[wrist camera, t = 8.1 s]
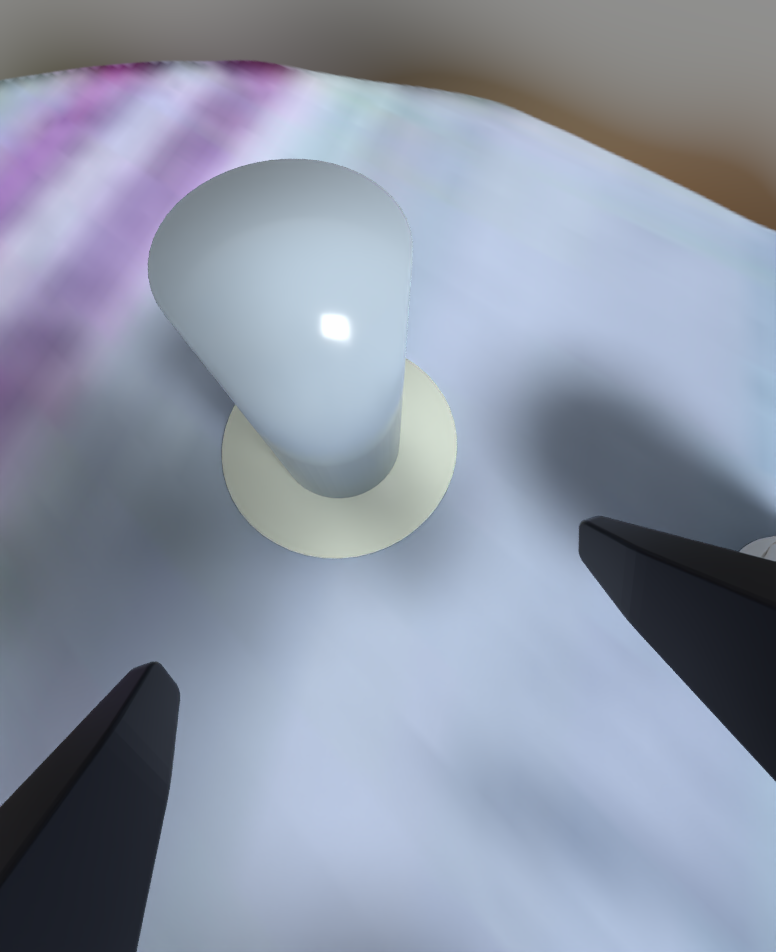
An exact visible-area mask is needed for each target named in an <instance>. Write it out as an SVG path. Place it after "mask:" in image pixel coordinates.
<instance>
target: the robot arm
mask: <svg viewBox="0 0 776 952" xmlns="http://www.w3.org/2000/svg"><path fill="white" fill-rule="evenodd" d="M579 555H580V558H581V559H582V561H583V563H584V564H585V565H586V567H587V568H588V569H589V571H590V572H591V573H592V575H593V576H594V577H595V578H596V580H597V581H598V582H599V584H600V585H601V586H602V588H603V589H604V590H605V592H606V593H607V594H608V596H609V597H610V598H611V600H612V601H613V602H614V603H615V605H616V606H617V607H618V609H619V610H620V611H621V613H622V614H623V615H624V616H625V618H626V619H627V620H628V621H629V622H630V624H631V625H632V626H633V627H634V628H635V629H636V630H637V631H638V633H639V634H640V635H641V636H642V637H643V638H644V639H645V640H646V641H647V642H648V643H649V644H650V646H651V647H652V648H653V649H654V650H655V651H656V652H657V653H658V654H659V655H660V656H661V657H662V659H663V660H664V661H665V662H666V663H667V664H668V665H669V666H670V667H671V668H672V669H673V671H674V672H675V673H676V674H677V675H678V676H679V677H680V678H681V679H682V680H683V681H684V682H685V684H686V685H687V686H688V687H689V688H690V689H691V690H692V691H693V692H694V693H695V694H696V695H697V697H698V698H699V699H700V700H701V701H702V702H703V703H704V704H705V705H706V706H707V707H708V709H709V710H710V711H711V712H712V713H713V714H714V715H715V716H716V717H717V718H718V719H719V720H720V722H721V723H722V724H723V725H724V726H725V727H726V728H727V729H728V730H729V731H730V732H731V733H732V735H733V736H734V737H735V738H736V739H737V740H738V741H739V742H740V743H741V744H742V745H743V747H744V748H745V749H746V750H747V751H748V752H749V753H750V754H751V755H752V756H753V757H754V758H755V760H756V761H757V762H758V763H759V764H760V765H761V766H762V767H763V768H764V769H765V770H766V771H767V773H768V774H769V775H770V776H771V777H772V778H773V779H774V780H775V781H776V561H772V560H769V559H765V558H761V557H757V556H753V555H749V554H746V553H742V552H738V551H734V550H730V549H726V548H722V547H719V546H715V545H711V544H707V543H703V542H699V541H696V540H692V539H688V538H684V537H680V536H676V535H672V534H669V533H665V532H661V531H657V530H653V529H649V528H646V527H642V526H638V525H634V524H630V523H626V522H622V521H619V520H615V519H611V518H607V517H603V516H595V517H592V518H589V519H586V520H583V521H582V522H581V523H580V525H579ZM179 704H180V692H179V688H178V686H177V684H176V683H175V682H174V680H173V679H172V678H171V676H170V675H169V674H168V672H167V671H166V670H165V669H164V667H163V666H162V665H161V664H160V663H158V662H150V663H147V664H144V665H141V666H138V667H135V668H133V669H132V670H131V671H130V672H129V673H128V674H127V675H126V676H125V677H124V678H123V679H122V680H121V681H120V682H119V683H118V684H117V685H116V686H115V687H114V688H113V689H112V690H111V691H110V693H109V694H108V695H107V696H106V697H105V698H104V699H103V700H102V701H101V702H100V703H99V704H98V705H97V706H96V707H95V708H94V709H93V710H92V711H91V712H90V714H89V715H88V716H87V717H86V718H85V719H84V720H83V721H82V722H81V723H80V724H79V725H78V726H77V727H76V728H75V729H74V730H73V731H72V732H71V733H70V734H69V736H68V737H67V738H66V739H65V740H64V741H63V742H62V743H61V744H60V745H59V746H58V747H57V748H56V749H55V750H54V751H53V752H52V753H51V754H50V755H49V757H48V758H47V759H46V760H45V761H44V762H43V763H42V764H41V765H40V766H39V767H38V768H37V769H36V770H35V771H34V772H33V773H32V774H31V775H30V776H29V777H28V779H27V780H26V781H25V782H24V783H23V784H22V785H21V786H20V787H19V788H18V789H17V790H16V791H15V792H14V793H13V794H12V795H11V796H10V797H9V798H8V799H7V801H6V802H5V803H4V804H3V805H2V806H1V807H0V952H136V951H137V946H138V941H139V936H140V932H141V927H142V922H143V917H144V912H145V907H146V902H147V898H148V893H149V888H150V883H151V878H152V873H153V868H154V864H155V859H156V854H157V849H158V844H159V839H160V834H161V829H162V825H163V820H164V815H165V810H166V805H167V800H168V795H169V789H170V783H171V776H172V768H173V759H174V750H175V741H176V731H177V722H178V713H179Z"/></svg>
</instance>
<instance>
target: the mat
mask: <svg viewBox="0 0 776 952" xmlns="http://www.w3.org/2000/svg"><path fill="white" fill-rule="evenodd" d="M456 454H457V435H456V429H455V424H454V419H453V416H452V414H451V411H450V408H449V406H448V404H447V402H446V400H445V398H444V396H443V394H442V393H441V391H440V390H439V388H438V387H437V385H436V384H435V383H434V382H433V381H432V380H431V378H430V377H429V376H428V375H427V374H426V373H425V372H424V371H422V370H421V369H420V368H419V367H418V366H417V365H415V364H414V363H412V362H411V361H409V360H408V359H405V374H404V388H403V402H402V416H401V430H400V445H399V452H398V456H397V459H396V462H395V464H394V466H393V468H392V469H391V471H390V473H389V474H388V475H387V476H386V478H385V479H384V480H383V481H382V482H380V483H379V484H378V485H377V486H375V487H374V488H373V489H371V490H369V491H367V492H365V493H363V494H360V495H357V496H353V497H349V498H329V497H323V496H320V495H317V494H314V493H312V492H310V491H308V490H307V489H305V488H303V487H302V486H301V485H300V484H299V483H297V481H296V480H295V479H294V478H293V477H292V476H291V474H290V473H289V472H288V471H287V469H286V468H285V467H284V466H283V464H282V463H281V462H280V461H279V459H278V458H277V457H276V455H275V454H274V453H273V452H272V450H271V449H270V448H269V447H268V445H267V444H266V443H265V442H264V440H263V439H262V438H261V436H260V435H259V434H258V433H257V431H256V430H255V429H254V428H253V426H252V425H251V424H250V423H249V421H248V420H247V419H246V417H245V416H244V415H243V414H242V412H241V411H240V410H239V409H238V407H237V406H236V405H234V407H233V410H232V412H231V414H230V416H229V419H228V422H227V425H226V428H225V432H224V437H223V443H222V465H223V473H224V477H225V481H226V485H227V488H228V490H229V492H230V495H231V497H232V500H233V501H234V503H235V504H236V506H237V508H238V509H239V511H240V513H241V514H242V515H243V516H244V517H245V519H246V520H247V521H248V522H249V523H250V524H251V525H252V526H253V527H254V528H255V529H256V530H257V531H258V532H260V533H261V534H262V535H263V536H265V537H266V538H268V539H269V540H271V541H273V542H274V543H276V544H278V545H280V546H282V547H284V548H286V549H289V550H291V551H294V552H297V553H300V554H304V555H307V556H313V557H319V558H336V559H341V558H350V557H358V556H362V555H366V554H370V553H374V552H377V551H379V550H382V549H384V548H387V547H389V546H391V545H393V544H395V543H397V542H398V541H400V540H402V539H404V538H405V537H407V536H408V535H409V534H411V533H412V532H413V531H415V530H416V529H417V528H418V527H419V526H420V525H421V524H422V523H423V522H424V521H426V520H427V519H428V518H429V516H430V515H431V514H432V512H433V511H434V510H435V509H436V507H437V506H438V505H439V503H440V501H441V499H442V498H443V496H444V494H445V493H446V491H447V488H448V486H449V483H450V481H451V478H452V475H453V471H454V467H455V463H456Z"/></svg>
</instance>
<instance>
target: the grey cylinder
mask: <svg viewBox="0 0 776 952" xmlns="http://www.w3.org/2000/svg"><path fill="white" fill-rule="evenodd" d="M412 260H413V241H412V235H411V230H410V227H409V224H408V221H407V218H406V217H405V215H404V213H403V211H402V209H401V208H400V206H399V205H398V204H397V202H396V201H395V200H394V199H393V197H392V196H391V195H390V194H389V193H388V192H386V191H385V190H384V189H383V188H382V187H381V186H379V185H378V184H377V183H375V182H374V181H373V180H371V179H369V178H367V177H366V176H364V175H362V174H360V173H358V172H356V171H353V170H351V169H348V168H346V167H343V166H339V165H336V164H333V163H328V162H323V161H317V160H307V159H279V160H269V161H263V162H257V163H253V164H249V165H245V166H241V167H238V168H235V169H232V170H230V171H227V172H225V173H222V174H220V175H218V176H216V177H214V178H212V179H210V180H208V181H206V182H205V183H203V184H201V185H200V186H198V187H197V188H195V189H194V190H193V191H191V192H190V193H188V194H187V195H186V196H185V197H184V198H183V199H182V200H180V201H179V202H178V203H177V204H176V205H175V206H174V207H173V209H172V210H171V211H170V212H169V213H168V214H167V216H166V217H165V219H164V220H163V222H162V223H161V225H160V226H159V228H158V230H157V232H156V234H155V236H154V238H153V241H152V245H151V248H150V251H149V259H148V278H149V283H150V287H151V291H152V293H153V296H154V298H155V300H156V303H157V304H158V306H159V307H160V309H161V310H162V312H163V313H164V315H165V316H166V317H167V319H168V320H169V321H170V322H171V324H172V325H173V326H174V328H175V329H176V330H177V331H178V333H179V334H180V335H181V336H182V338H183V339H184V340H185V341H186V343H187V344H188V345H189V347H190V348H191V349H192V350H193V352H194V353H195V354H196V355H197V357H198V358H199V359H200V360H201V362H202V363H203V364H204V366H205V367H206V368H207V369H208V371H209V372H210V373H211V374H212V376H213V377H214V378H215V379H216V381H217V382H218V383H219V385H220V386H221V387H222V388H223V390H224V391H225V392H226V393H227V395H228V396H229V397H230V398H231V400H232V401H233V402H234V404H235V405H236V406H237V407H238V409H239V410H240V411H241V412H242V414H243V415H244V416H245V417H246V419H247V420H248V421H249V423H250V424H251V425H252V426H253V428H254V429H255V430H256V431H257V433H258V434H259V435H260V436H261V438H262V439H263V440H264V442H265V443H266V444H267V445H268V447H269V448H270V449H271V450H272V452H273V453H274V454H275V455H276V457H277V458H278V459H279V461H280V462H281V463H282V464H283V466H284V467H285V468H286V469H287V471H288V472H289V473H290V474H291V476H292V477H293V478H294V479H295V480H296V481H297V483H299V484H300V485H301V486H302V487H303V488H305V489H307V490H308V491H310V492H312V493H314V494H317V495H320V496H323V497H329V498H349V497H353V496H357V495H360V494H363V493H365V492H367V491H369V490H371V489H373V488H374V487H375V486H377V485H378V484H379V483H380V482H382V481H383V480H384V479H385V478H386V476H387V475H388V474H389V473H390V471H391V469H392V468H393V466H394V464H395V462H396V459H397V456H398V452H399V445H400V430H401V416H402V402H403V388H404V374H405V359H406V345H407V331H408V317H409V302H410V288H411V274H412Z"/></svg>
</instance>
